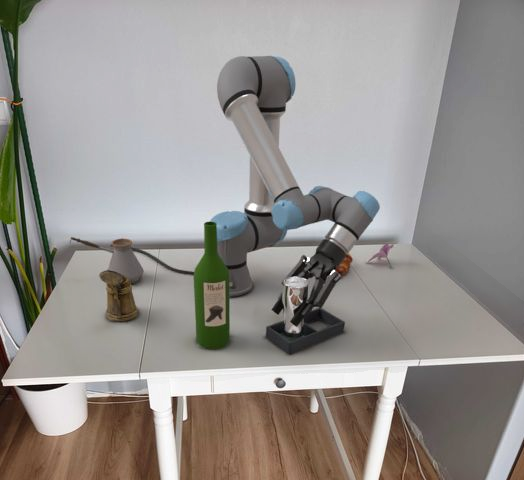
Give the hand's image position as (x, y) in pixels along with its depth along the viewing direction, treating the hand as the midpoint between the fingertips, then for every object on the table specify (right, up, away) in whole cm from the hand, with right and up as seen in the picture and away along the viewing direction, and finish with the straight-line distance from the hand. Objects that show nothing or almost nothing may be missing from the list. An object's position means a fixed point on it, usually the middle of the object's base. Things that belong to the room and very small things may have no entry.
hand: (283, 318), depth 130 cm
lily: (+38, +23, +52) cm, 68 cm away
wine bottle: (-19, -6, +5) cm, 20 cm away
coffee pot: (-55, +15, +34) cm, 66 cm away
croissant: (+21, +22, +49) cm, 58 cm away
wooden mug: (-46, +1, +13) cm, 48 cm away
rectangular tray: (+6, -4, +9) cm, 12 cm away
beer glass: (+3, -4, +5) cm, 7 cm away
